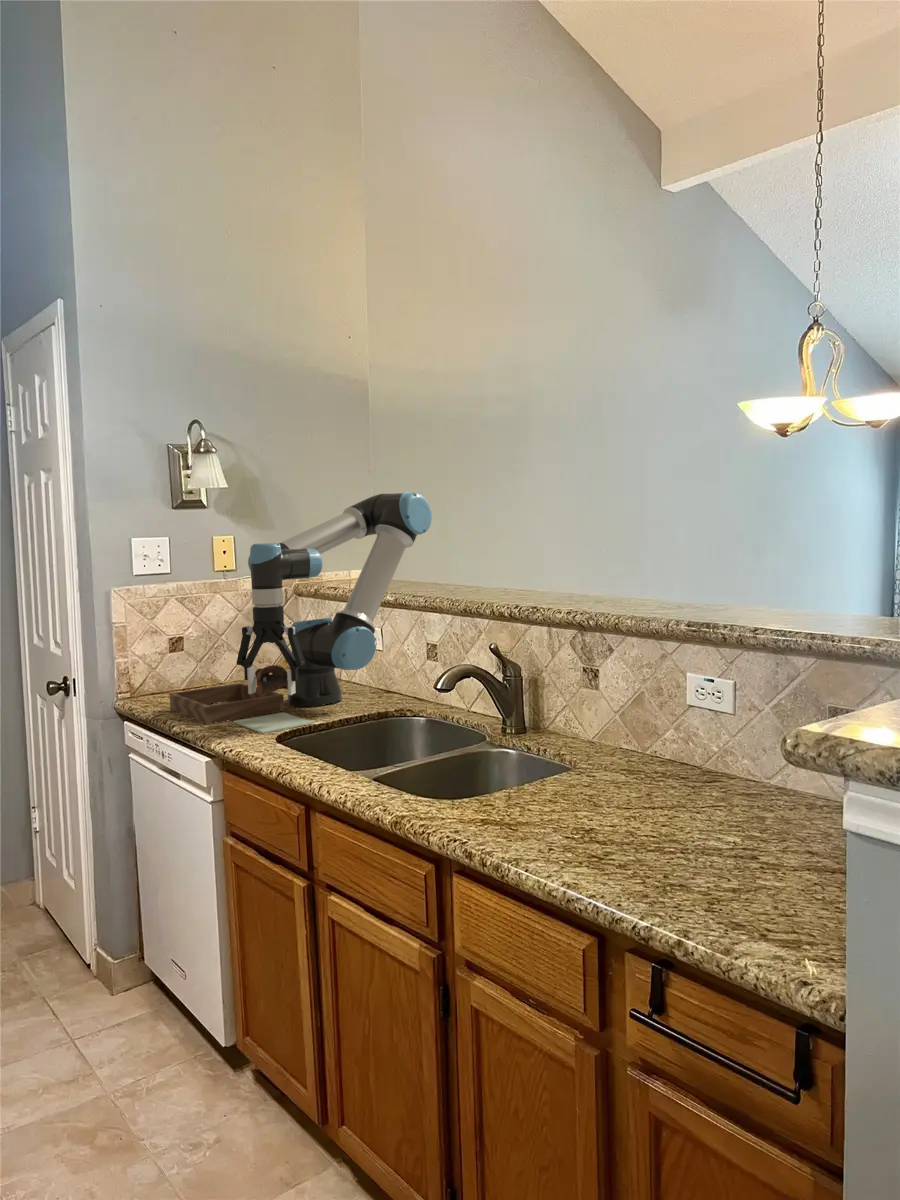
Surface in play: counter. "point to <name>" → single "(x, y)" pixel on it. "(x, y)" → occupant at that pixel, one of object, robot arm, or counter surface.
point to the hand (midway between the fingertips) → (272, 693)
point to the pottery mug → (271, 679)
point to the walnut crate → (250, 706)
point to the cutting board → (272, 722)
